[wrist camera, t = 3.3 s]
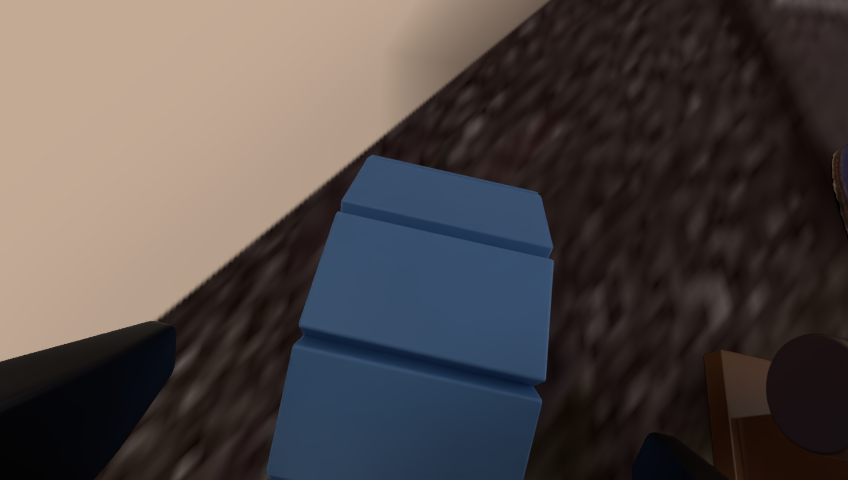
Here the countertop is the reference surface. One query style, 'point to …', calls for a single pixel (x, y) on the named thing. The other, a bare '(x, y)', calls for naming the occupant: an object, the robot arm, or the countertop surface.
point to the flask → (841, 180)
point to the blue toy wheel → (420, 333)
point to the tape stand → (781, 411)
